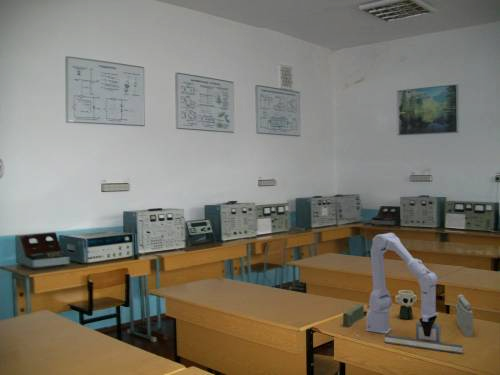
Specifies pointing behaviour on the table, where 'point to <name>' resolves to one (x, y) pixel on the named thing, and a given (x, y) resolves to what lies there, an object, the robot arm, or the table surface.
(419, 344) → the rail
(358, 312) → the handheld radio
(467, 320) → the geiger counter
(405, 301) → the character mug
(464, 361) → the table surface
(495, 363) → the table surface
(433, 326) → the box
